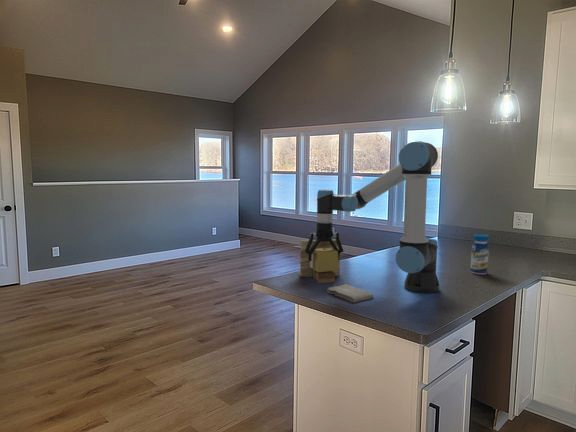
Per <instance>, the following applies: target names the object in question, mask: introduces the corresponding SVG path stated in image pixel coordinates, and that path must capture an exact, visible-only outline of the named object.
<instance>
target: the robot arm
mask: <svg viewBox="0 0 576 432" xmlns="http://www.w3.org/2000/svg"><path fill="white" fill-rule="evenodd" d="M438 158H439V153H438V150H437V148H436V147H435V146H434V145H433V144H432V143H429V142H426V141H425V142H424V141H420V140H413V141H409V142H407V143H405V144H404V145H403V146H402V147H401V149H400V150H399V153H398V164H396V165H395V166H394V167H392V168H391V169H390V170H388V171H386V172H385V173H383V174H381V175H380V176H378V177H377V178H375V179H374V180H372V181H371V182H370V183H367V184H366V185H365V186H363V187H362V188H360V189H358V190H357V191H355V192H354V193H349V194H335V193H334V190H332V189H318V190H317V198H316V207H317V208H316V232H310V233H309V238H308V240H309V241H308V243H307V246H306V249H305V252H306V253H308V260H309V261H310V267H311V268H313V254H312V253H313V251H314V250H315V248H316V247H317V245H318V244H319V243H320V242H324V241H326V242H328V241H329V242H330V244H331V245H332V247H333V248H334V250H336V251H337V252H338V260H339V254H340V255H341V253H344V248H343V246H342V243H341V239H340V234H339V232H338V231H336V232H333V225H334V224H333V220H334V219H333V216H334V215H333V213H334V212H333V211H339V212H349V213H350V212H355V211H357V210H360V209H362V208H365V207H366V206H367V204H369V203H370V202H371V201H374V200H375V199H376V198H378V197H380V196H382V195H383V194H385V193H386V192H388V191H390V190H391V189H393V188H394V187H397V186H398V185H400V184H402V182H405V183H404V206H403V207H404V211H403V212H404V213H403V235H402V236H401V237H400V238H399V243H398V244H399V247H398V250H397V251H396V253H395V263H396V266H397V267H398V268H399V269H400V270H401V271H403V272H404V273H407V274H406V277H405V279H404V283H403V284H404V286H403V287H404V289H406V290H408V291H409V292H410V291H411V292H415V293H422V294H423V293H424V294H433V293H438V292H439V291H440V282H439V278H438V275H437V261H438V260H437V259H438V247H439V246H438V240H437V239H435V238H427V237H426V219H427V218H426V217H427V216H426V215H427V214H426V213H427V191H428V190H427V188H428V179H429V178H430V177H431V176H432V168H433V167H434V166H435V165H436V163H437V161H438ZM315 237H316V239H315V240H316V241H315V243H314V244H313V246H312V247H311V249H310V246H311V244H312V241H313V240H314V238H315ZM333 237H334V238H335V239H334V240H336V242H337V244H338V247H339V250H338V249H337V247H336V245H335V244H334V242H333V241H332V240H333V239H332V238H333ZM309 249H310V250H309Z"/></svg>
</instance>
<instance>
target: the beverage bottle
mask: <svg viewBox="0 0 576 432" xmlns="http://www.w3.org/2000/svg"><path fill="white" fill-rule="evenodd" d="M488 241H489V235H488V234H483V233H475V234H474V235H473V242H474V243H472V245H471V251H470V254H471V255H470V256H471V257H470V269H469V270H470V273H471V274H475V275H487V274H488V266H489V255H490V252H489V250H490V247H489V245H488Z"/></svg>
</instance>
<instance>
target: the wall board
mask: <svg viewBox="0 0 576 432" xmlns="http://www.w3.org/2000/svg"><path fill="white" fill-rule="evenodd" d="M308 241H309V239H306V240H305V239H303V240H300V246H299V247H300V249H299V250H300V253H299V255H300V256H299V257H300V260H299V261H300V262H299V271H298V275H299V276H300V278H302V277H303V278H304V277H306V278H307V277H312V278H313V279H314V280H315V281H316V282H317V283H319V284H324V283H325V284H326V283H336V276H341V275H340V273H341V272H340V271H341V270H340V268H341V266H340V265H341V253H340V254H339V260H338V267H337V271H327V272H317V271H315V270H314V269H312V268H310V261H309V260H308V253H306V252H305V249H306V246H307V243H308ZM315 241H316V239H313V241H312V244H311V246H310V249H311V247H312V246H313V244H314V243H315ZM332 241H333V242H334V244H335V245H336V247H337V249H338V250H339V247H338V244H337V242H336V239H332ZM320 247H329V248H331V249H334V248H333V247H332V245H331V244H330V242H329V241H328V242H326V241H324V242H320V243H319V244H318V245H317V247H316V248H320ZM316 248H315V249H316ZM310 249H309V250H310Z"/></svg>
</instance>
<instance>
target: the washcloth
mask: <svg viewBox="0 0 576 432" xmlns="http://www.w3.org/2000/svg"><path fill="white" fill-rule="evenodd" d="M326 292H327V293H328V294H330V293H331V295H332V294H334V295H335V296H334V295H333V296H334V297H337V296H339V297H341V298H340V299H342V298H344V299H346V300H345V301H347V300H349V301H350V303H352V302H353V303H358V302H361V301H367V300H371V299H373V298H374V295H373V293H371V292H369V291H365V290H364V289H362V288H358V287H356V286H352V285H350V284H342V285H339V286H338V285H334V286H330V287H328V288H327V290H326ZM339 297H338V298H339ZM344 299H343V300H344ZM349 301H348V302H349Z"/></svg>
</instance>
